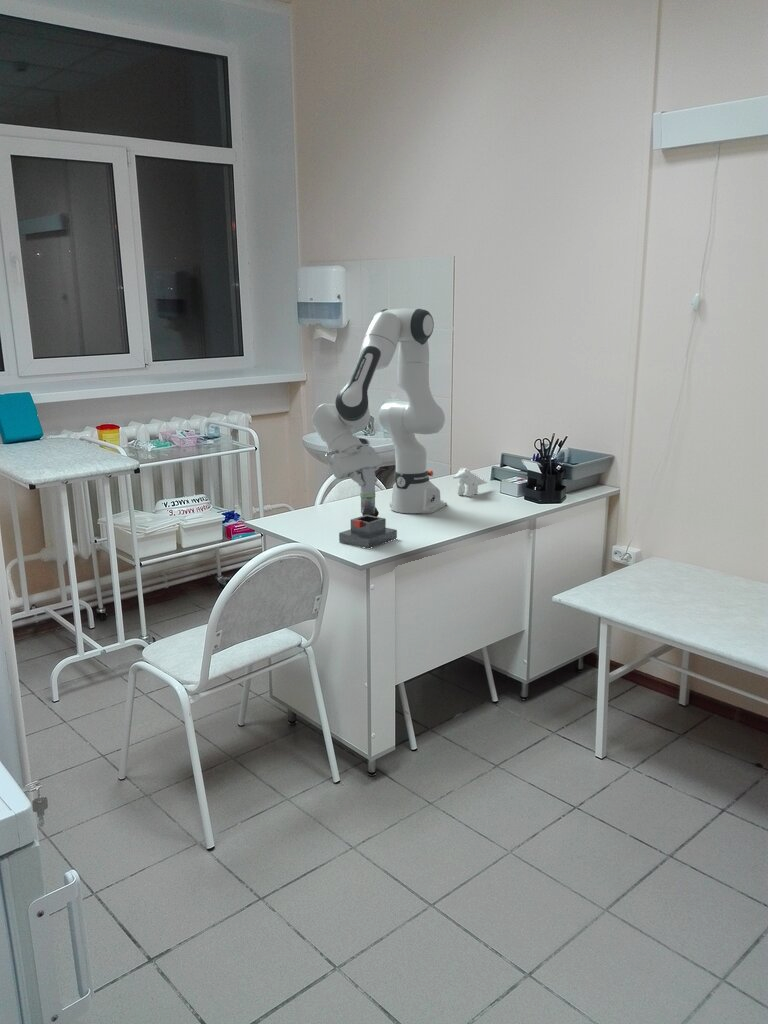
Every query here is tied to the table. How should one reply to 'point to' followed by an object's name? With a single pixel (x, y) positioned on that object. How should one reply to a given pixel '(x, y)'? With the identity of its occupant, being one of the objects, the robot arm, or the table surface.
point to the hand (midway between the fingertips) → (369, 483)
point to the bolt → (373, 513)
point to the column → (368, 490)
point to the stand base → (367, 532)
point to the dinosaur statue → (468, 482)
